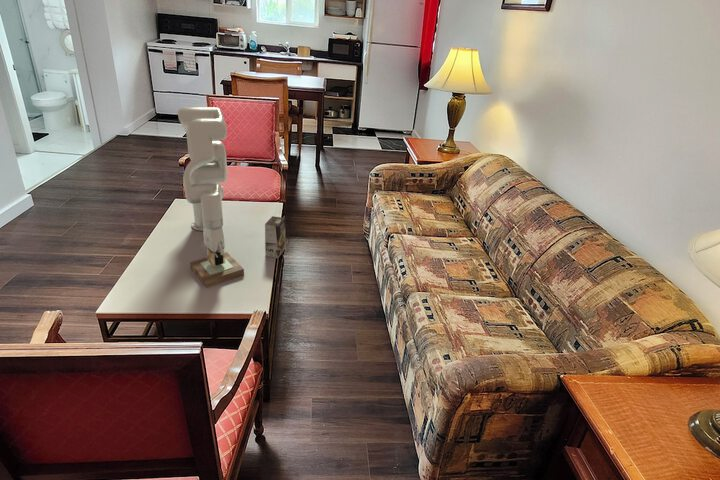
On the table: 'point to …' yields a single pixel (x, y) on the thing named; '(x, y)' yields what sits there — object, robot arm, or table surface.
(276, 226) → the coffee box
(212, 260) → the maple block
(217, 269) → the walnut base
